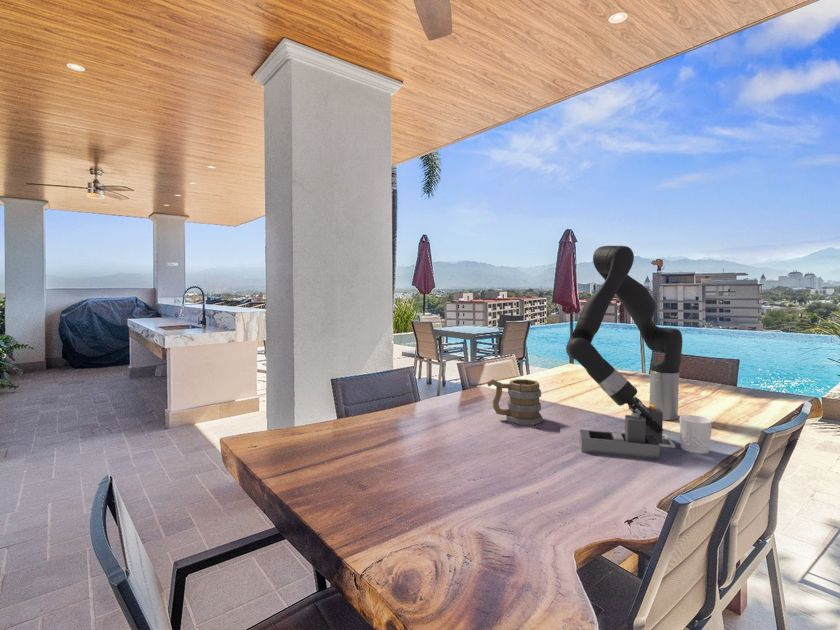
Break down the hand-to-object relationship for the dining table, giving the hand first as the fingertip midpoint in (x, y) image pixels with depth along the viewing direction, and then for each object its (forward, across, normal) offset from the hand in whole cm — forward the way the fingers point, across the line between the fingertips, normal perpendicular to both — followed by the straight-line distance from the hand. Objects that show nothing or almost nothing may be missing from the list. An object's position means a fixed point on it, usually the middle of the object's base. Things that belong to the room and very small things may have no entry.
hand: (659, 428), depth 130 cm
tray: (+2, 0, +5) cm, 5 cm away
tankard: (-29, +9, +36) cm, 47 cm away
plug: (+2, 0, +4) cm, 5 cm away
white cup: (+10, -4, -3) cm, 11 cm away
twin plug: (-3, -13, +8) cm, 15 cm away
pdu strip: (-5, -13, +12) cm, 19 cm away
